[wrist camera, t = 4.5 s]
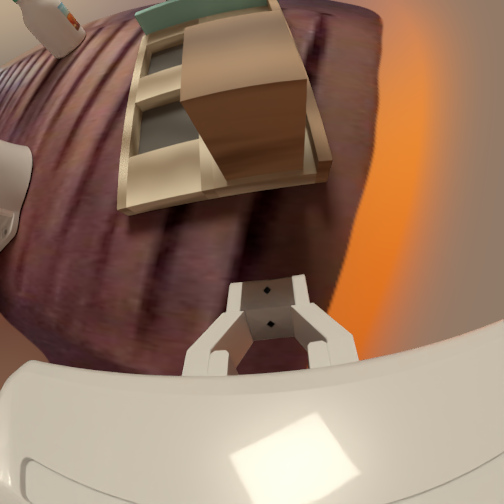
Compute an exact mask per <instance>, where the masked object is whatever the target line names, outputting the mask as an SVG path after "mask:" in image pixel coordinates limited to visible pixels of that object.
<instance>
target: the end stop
mask: <svg viewBox="0 0 504 504" xmlns="http://www.w3.org/2000/svg"><path fill="white" fill-rule="evenodd" d="M277 2H278V4H279V1H278V0H277ZM260 6H267V0H169V1H166V2H163V3H160V4H157V5H155V6H152V7H149V8H147V9H144V10H141V11H139V12H136V14H135V18H136V19H137V21H138V23H139V24H140V26H141V28H142V29H143V31H144V33H145V34H146V35H147V34H150V33H153V32H156V31H158V30H161V29H164V28H167V27H170V26H174V25H177V24H180V23H184V22H187V21H191V20H194V19H198V18H202V17H206V16H210V15H215V14H219V13H224V12H229V11H234V10H240V9H246V8H253V7H260Z"/></svg>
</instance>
